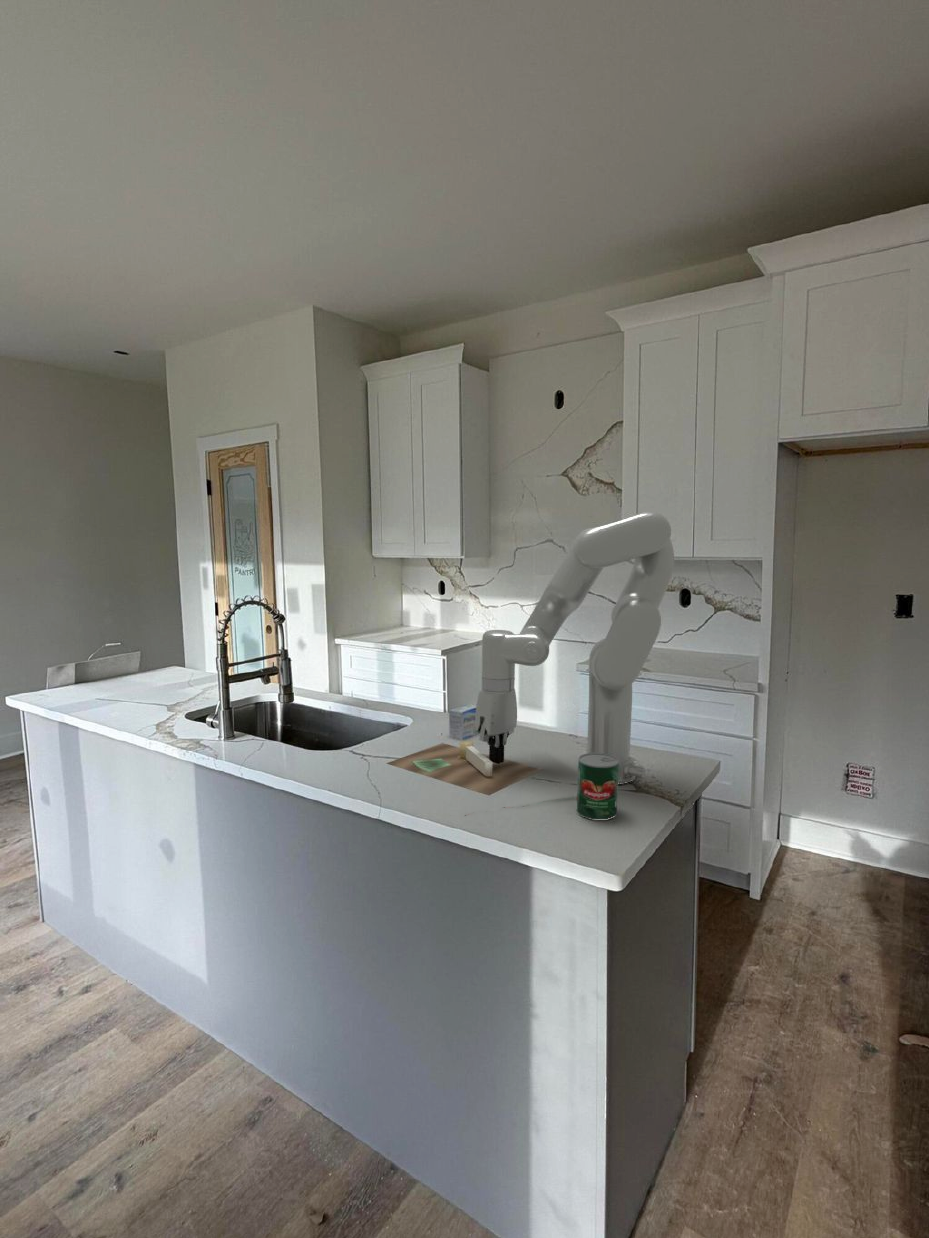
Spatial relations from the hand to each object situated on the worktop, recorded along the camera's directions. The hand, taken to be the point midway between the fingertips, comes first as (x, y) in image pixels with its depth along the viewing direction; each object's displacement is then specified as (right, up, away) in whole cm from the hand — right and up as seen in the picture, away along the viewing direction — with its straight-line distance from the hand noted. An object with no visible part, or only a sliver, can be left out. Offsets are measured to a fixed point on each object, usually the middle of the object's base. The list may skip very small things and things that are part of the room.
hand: (496, 761), depth 159 cm
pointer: (-5, -1, -1) cm, 5 cm away
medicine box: (-7, +1, +24) cm, 25 cm away
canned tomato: (+19, -6, -23) cm, 30 cm away
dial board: (-8, -2, 0) cm, 8 cm away
